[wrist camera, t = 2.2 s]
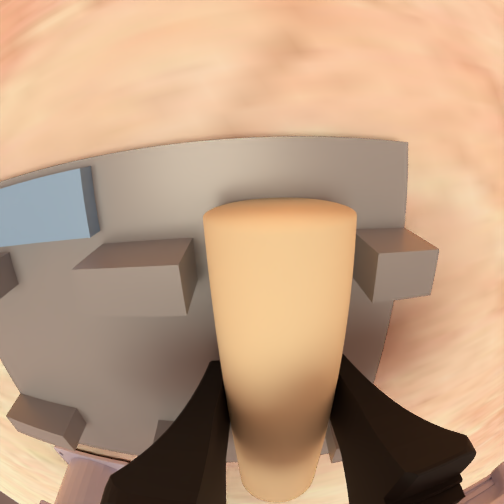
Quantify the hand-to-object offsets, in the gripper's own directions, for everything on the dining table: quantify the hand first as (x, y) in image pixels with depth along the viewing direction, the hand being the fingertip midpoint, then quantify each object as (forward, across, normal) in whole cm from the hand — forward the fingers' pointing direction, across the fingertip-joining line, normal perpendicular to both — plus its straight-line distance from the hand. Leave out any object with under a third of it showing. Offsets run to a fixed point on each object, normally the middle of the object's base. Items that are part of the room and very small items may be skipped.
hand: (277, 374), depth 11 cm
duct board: (+2, +6, 0) cm, 6 cm away
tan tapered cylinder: (+1, 0, 0) cm, 1 cm away
